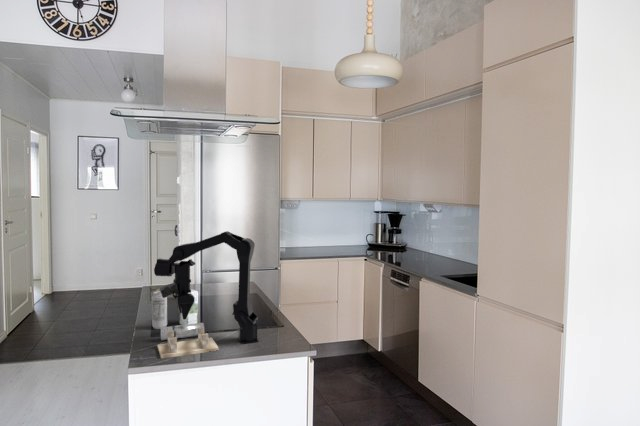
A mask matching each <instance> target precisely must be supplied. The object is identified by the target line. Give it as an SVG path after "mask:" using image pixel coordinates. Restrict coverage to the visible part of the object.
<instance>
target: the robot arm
mask: <svg viewBox="0 0 640 426" xmlns="http://www.w3.org/2000/svg"><path fill="white" fill-rule="evenodd" d="M223 243H224V244H226V245H227V246H229V247H230V248H232V249H234V250H236V256H237V259H238V264H239V265H238V266H239V268H238V269H239V271H238V298H237V300H236V301H235V302H234V303H233V305H232V308H233V309H232V310H233V312H232V314H231V315H233V317H234V320H235V321H236V322H237V324H238V325H239V328H238V330H237V332H238V333H237V334H238V338H237V339H238V340H239V342H240V343H241V344H251V343H257V342H259V341H260V340H259V339H258V324H257V322H258V319H259V316H258V315H257V314H256V313H255V312H254V311H253V310H254V309H253V305H252V304H253V303H252V301H251V300H252V299H251V298H250V296H251V295H250V291H251V290H250V289H251V262H252V259H253V256H254V252H255V242H254V241H253V240H252V239H251V238H248V237H247V238H245V237H243V236H240V235H237V234H235V233H232V232H230V231H223V232H221V233H219V234H216V235H214V236H211V237H209V238H206V239H203V240H199V241H197V242H196V241H195V242H190V243H189V242H188V243H183V244H182V243H181V244H180V245H177V246H175V247H173V250H172V255H170V257H169V258H168V259H167V258H157V259H156V263H155V265H154V268H153V271H154V275H155V276H156V277H172V276H173V275H174V278H173V281H172V283H167V284H166V285H164V286H162V287H159V289H158V291H160V292H161V294H162V297H163V298H165V297H167V298H168V297H169V296H171V295H172V297H173V298H174V299H175V300H176V304H177V307H178V312H179V313H182V316H183V319H186V318H187V316H188V313H189V311H190V309H191V307H192V305H193V303H194V296H193V295H192V294H191V290H192V289H191V283H192V279H191V267H193V266H195V265H196V262H195V261H193V259H191V258H190V257H191V256H193V255H195V254H197V253H198V252H201V251H203V250H206V249H209V248H212V247H215V246H217V245H218V246H219V245H221V244H223ZM186 259H188V260H186ZM190 289H191V290H190Z"/></svg>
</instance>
